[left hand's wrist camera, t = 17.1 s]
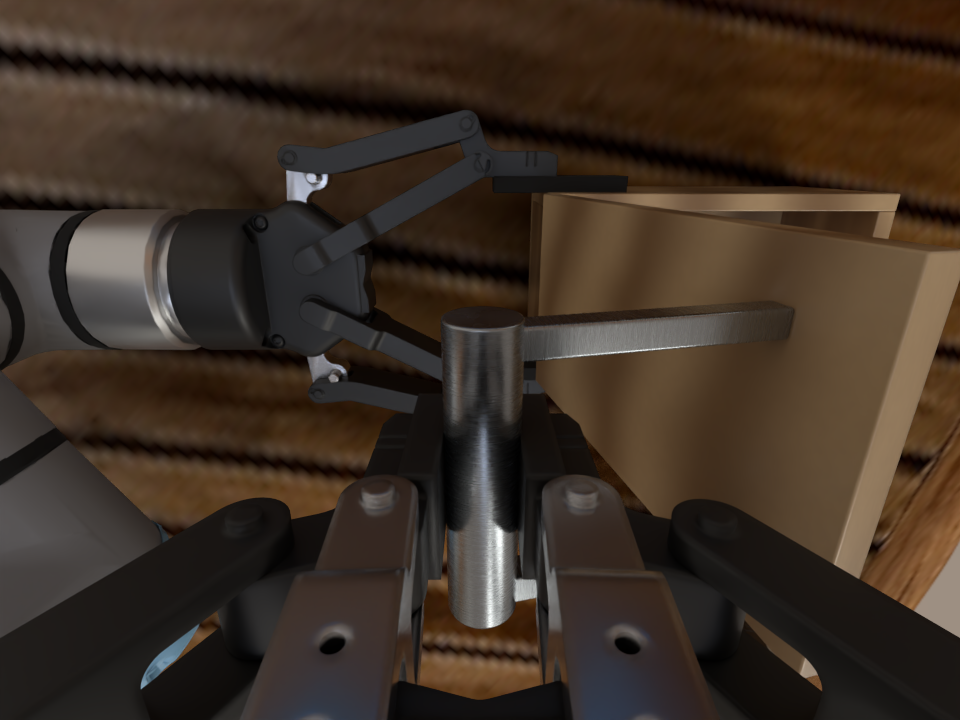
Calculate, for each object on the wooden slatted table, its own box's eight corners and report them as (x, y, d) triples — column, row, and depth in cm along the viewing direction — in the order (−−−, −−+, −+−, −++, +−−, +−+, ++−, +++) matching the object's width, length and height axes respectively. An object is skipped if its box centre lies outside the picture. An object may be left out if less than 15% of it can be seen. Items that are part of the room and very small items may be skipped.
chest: (792, 186, 32) (901, 193, 24) (763, 327, 36) (850, 376, 27) (532, 186, 32) (550, 193, 24) (527, 327, 36) (541, 376, 27)
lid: (971, 250, 8) (472, 273, 6) (829, 673, 11) (474, 766, 10) (560, 193, 24) (383, 195, 22) (550, 379, 27) (395, 393, 25)
